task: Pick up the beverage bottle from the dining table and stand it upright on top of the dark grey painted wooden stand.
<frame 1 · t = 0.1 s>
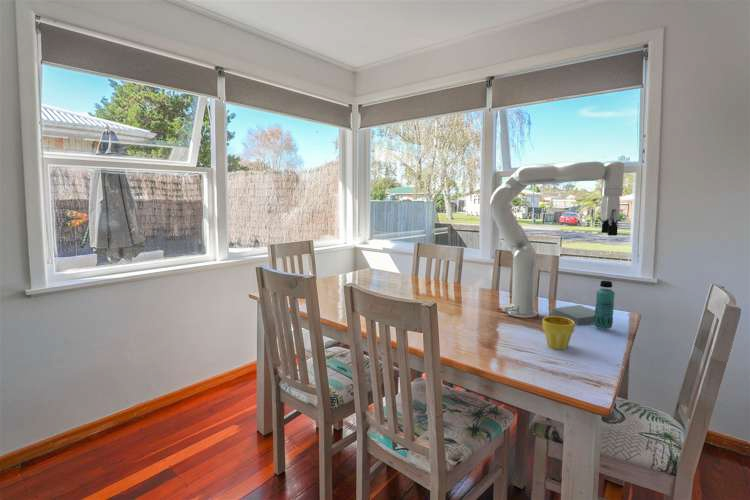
hand: (608, 234, 166), 37 cm above the table, tool pointing down, fingers open, 9 cm apart
beverage bottle: (602, 330, 160), on the table
stand: (578, 317, 175), on the table
plant pot: (557, 346, 144), on the table
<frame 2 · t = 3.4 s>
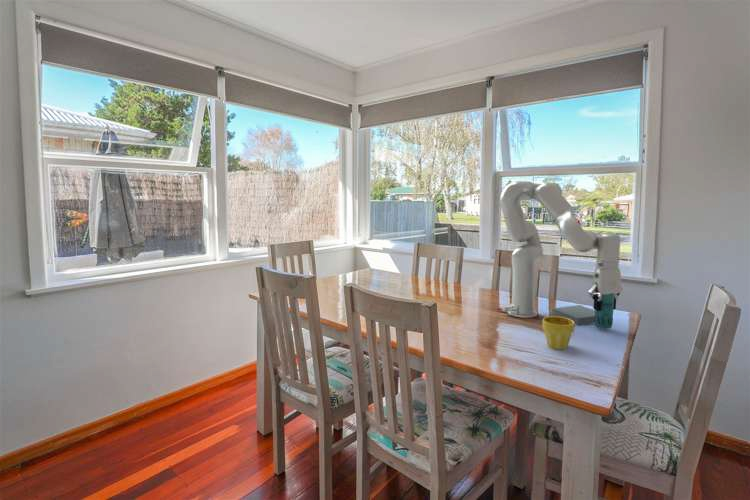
hand: (604, 308, 159), 9 cm above the table, tool pointing down, fingers closed on beverage bottle, 6 cm apart
beverage bottle: (602, 330, 160), on the table, touching gripper
everything else where it was.
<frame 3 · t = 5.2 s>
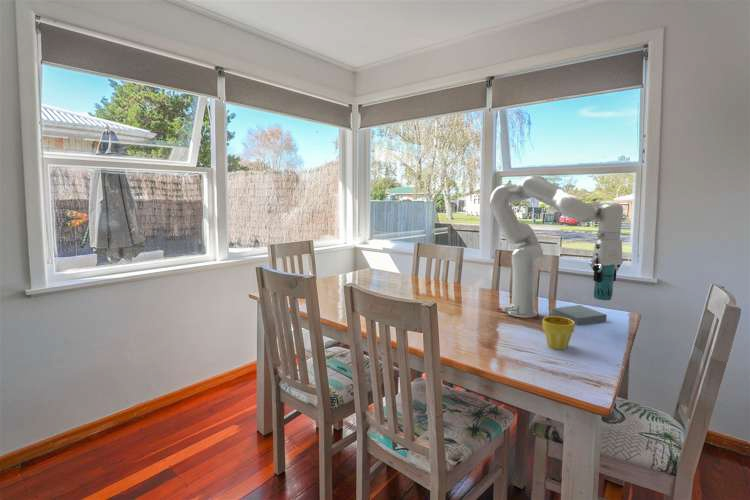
hand: (604, 280, 157), 20 cm above the table, tool pointing down, fingers closed on beverage bottle, 6 cm apart
beverage bottle: (602, 302, 159), point 11 cm above the table, touching gripper
everything else where it was.
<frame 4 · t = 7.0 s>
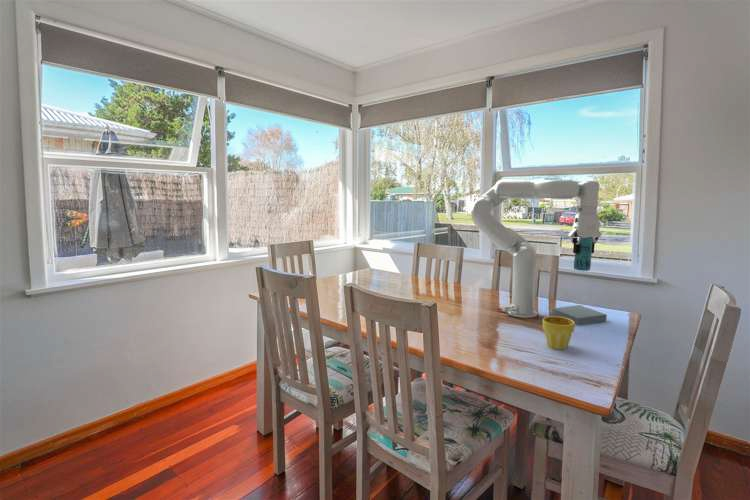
hand: (583, 252, 169), 29 cm above the table, tool pointing down, fingers closed on beverage bottle, 6 cm apart
beverage bottle: (581, 273, 171), point 20 cm above the table, touching gripper
everything else where it was.
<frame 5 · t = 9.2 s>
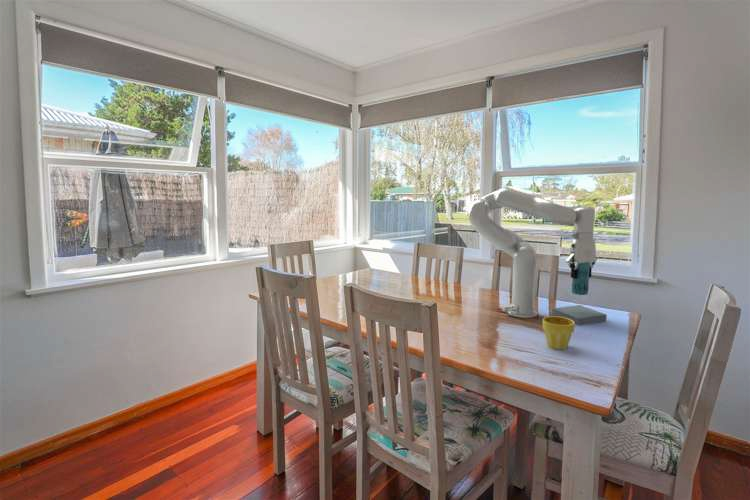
hand: (580, 277, 172), 18 cm above the table, tool pointing down, fingers closed on beverage bottle, 6 cm apart
beverage bottle: (579, 297, 173), point 9 cm above the table, touching gripper
everything else where it was.
when the fingers open (13 cm above the table, at t = 10.8 s): beverage bottle drops 1 cm, resting on stand.
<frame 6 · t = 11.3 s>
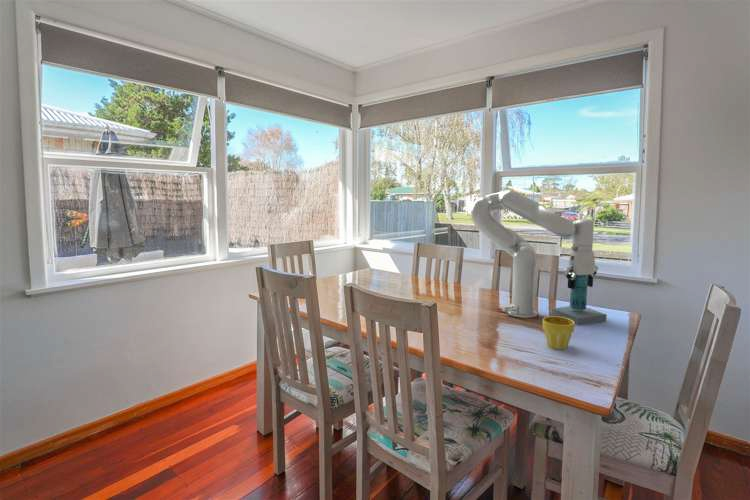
hand: (580, 287, 173), 14 cm above the table, tool pointing down, fingers open, 9 cm apart
beverage bottle: (577, 311, 174), point 3 cm above the table, touching stand
everything else where it was.
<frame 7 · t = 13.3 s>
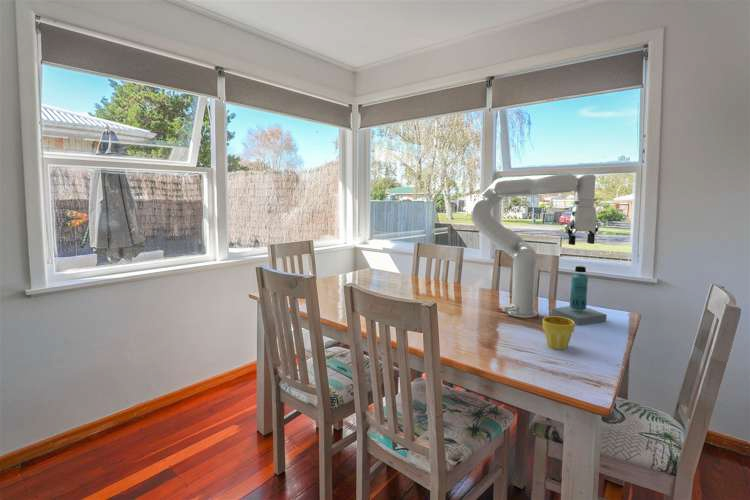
hand: (581, 244, 171), 33 cm above the table, tool pointing down, fingers open, 9 cm apart
nothing on the table moved.
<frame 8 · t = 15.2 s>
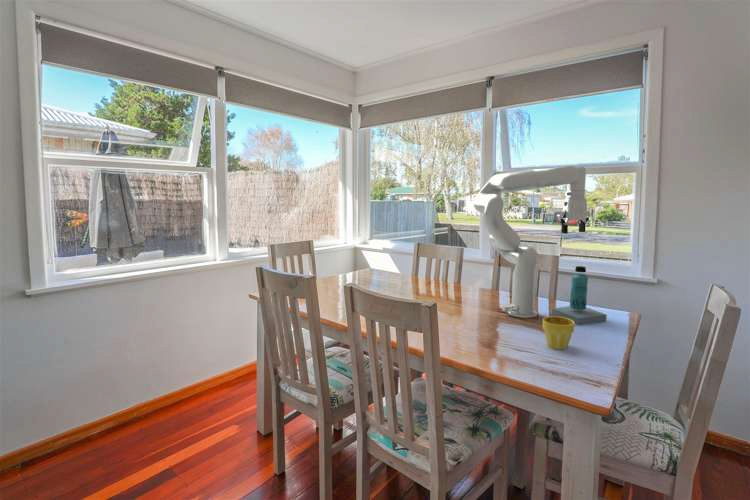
hand: (573, 232, 181), 36 cm above the table, tool pointing down, fingers open, 9 cm apart
nothing on the table moved.
at the end: beverage bottle inside the target area on the stand (0.4 cm from its centre), point 2.8 cm above the stand's base; beverage bottle tilted 0°; the gripper is holding nothing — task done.
